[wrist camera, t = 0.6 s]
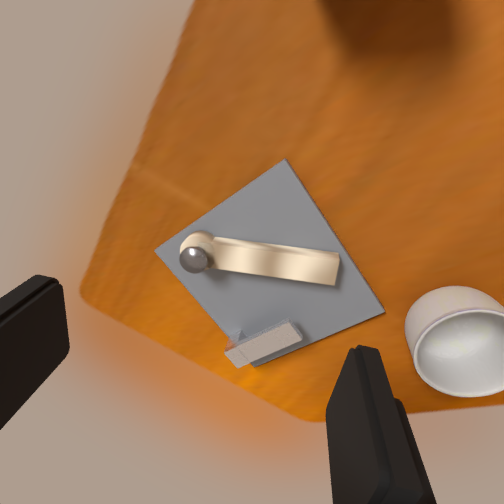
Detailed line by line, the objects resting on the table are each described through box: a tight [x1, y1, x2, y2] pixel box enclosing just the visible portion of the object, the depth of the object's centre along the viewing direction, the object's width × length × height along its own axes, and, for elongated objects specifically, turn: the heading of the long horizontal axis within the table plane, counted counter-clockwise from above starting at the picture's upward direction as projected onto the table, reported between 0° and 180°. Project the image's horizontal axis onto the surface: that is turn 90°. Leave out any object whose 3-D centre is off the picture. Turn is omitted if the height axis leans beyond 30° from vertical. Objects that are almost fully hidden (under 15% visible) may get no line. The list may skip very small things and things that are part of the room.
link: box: [179, 230, 340, 285], centre depth 37 cm, size 18×4×4 cm, turn 86°
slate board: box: [154, 158, 385, 367], centre depth 41 cm, size 20×22×1 cm
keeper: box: [224, 318, 302, 368], centre depth 42 cm, size 10×3×5 cm, turn 126°
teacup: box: [405, 286, 504, 397], centre depth 35 cm, size 14×11×8 cm
